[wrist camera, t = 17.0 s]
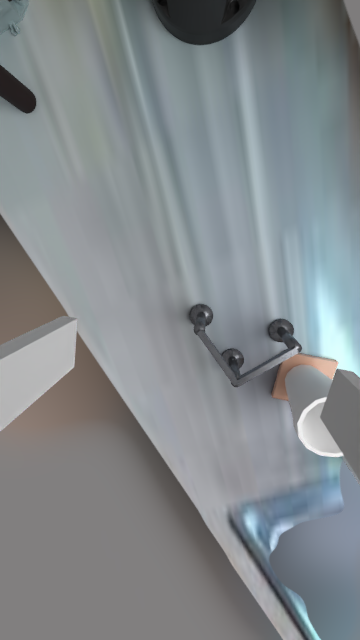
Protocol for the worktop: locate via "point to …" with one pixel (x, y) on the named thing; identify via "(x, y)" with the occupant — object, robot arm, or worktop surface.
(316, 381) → the foam cup
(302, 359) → the coaster
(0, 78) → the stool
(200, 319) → the bent rail
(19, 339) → the robot arm
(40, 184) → the worktop surface
